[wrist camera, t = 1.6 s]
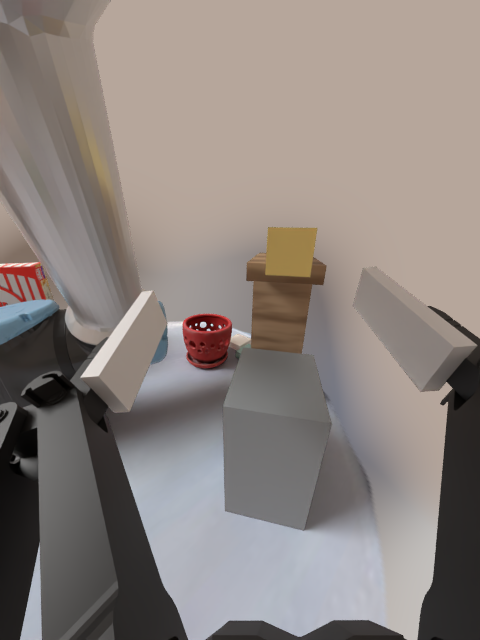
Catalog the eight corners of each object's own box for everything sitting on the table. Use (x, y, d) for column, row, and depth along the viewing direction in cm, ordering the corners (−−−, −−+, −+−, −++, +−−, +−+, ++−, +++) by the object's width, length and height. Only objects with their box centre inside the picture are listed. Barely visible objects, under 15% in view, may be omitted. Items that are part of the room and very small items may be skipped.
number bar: (310, 277, 18) (317, 227, 17) (265, 274, 19) (268, 227, 17) (295, 255, 38) (297, 232, 37) (273, 254, 39) (275, 231, 37)
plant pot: (201, 379, 51) (198, 336, 46) (177, 357, 60) (173, 319, 55) (241, 360, 59) (241, 322, 54) (214, 343, 68) (213, 309, 63)
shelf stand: (296, 436, 37) (326, 265, 25) (242, 426, 39) (246, 262, 27) (292, 377, 52) (309, 254, 41) (253, 372, 54) (259, 252, 43)
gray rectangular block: (304, 530, 25) (331, 423, 18) (225, 510, 27) (222, 406, 20) (297, 443, 36) (313, 355, 29) (240, 433, 37) (243, 347, 30)
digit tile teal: (235, 358, 61) (235, 351, 60) (248, 350, 65) (248, 343, 64) (251, 366, 57) (252, 358, 56) (264, 357, 61) (264, 350, 61)
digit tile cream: (225, 346, 67) (225, 339, 66) (238, 339, 71) (238, 333, 70) (239, 352, 64) (239, 346, 63) (251, 345, 68) (251, 339, 67)
